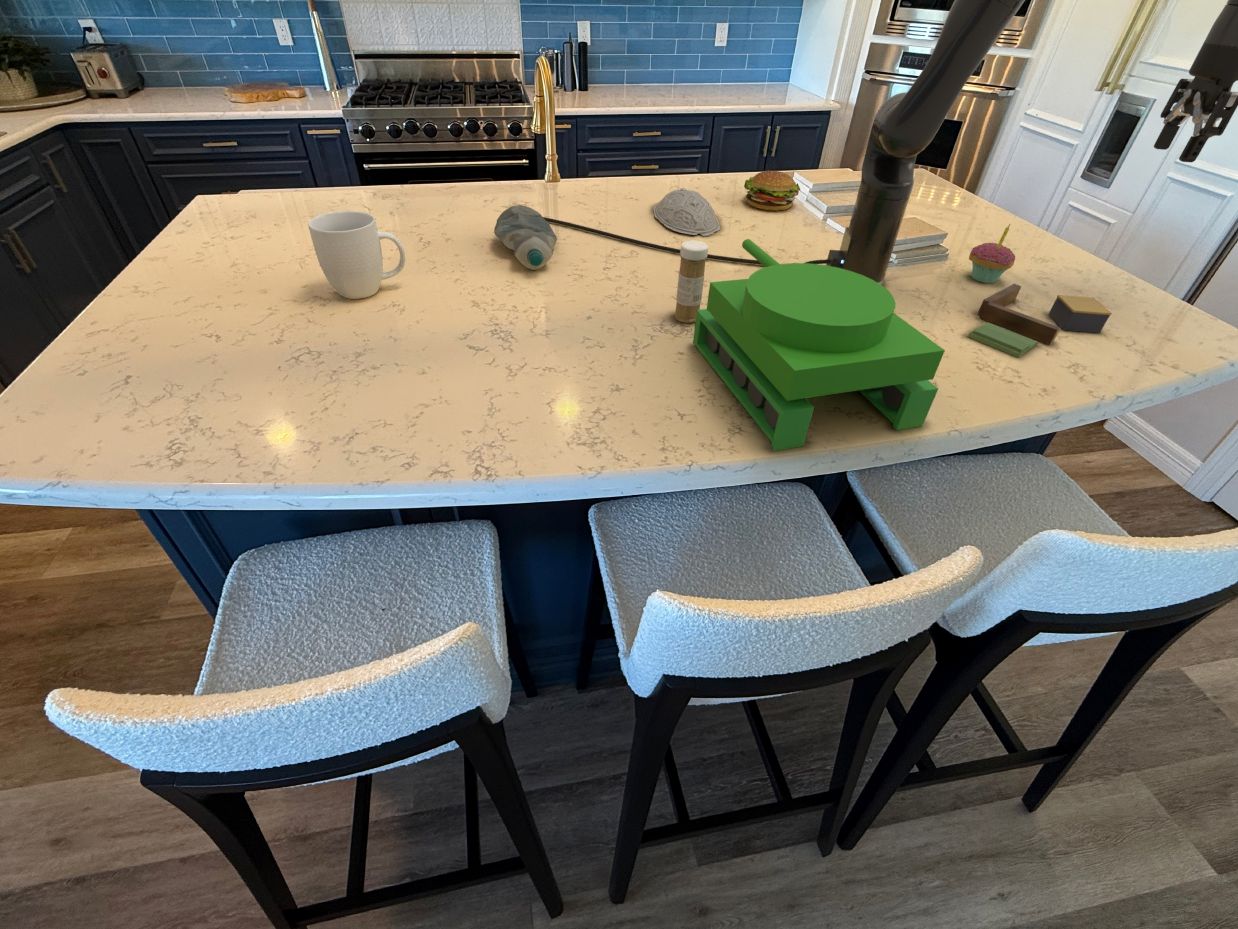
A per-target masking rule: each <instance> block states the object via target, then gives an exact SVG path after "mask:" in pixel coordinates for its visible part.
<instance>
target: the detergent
mask: <svg viewBox="0 0 1238 929" xmlns="http://www.w3.org/2000/svg"><path fill="white" fill-rule="evenodd" d="M543 217H544V216H542V214H541V213H540V212H538V211H537V210H535V209H533V208H531V207H529V206H526V205H522V204H517V205H515V204H514V205H512V206H510V207H508V208H507V209H505V210H503V211H502V212H501V213H500V215H499V216H498V217H497V219H496V222H495V226H494V229H493V230H494V231H493V232H494V236H495V237H497V238H498V239H499V241H501V242H502V244H503V245H504V246H505V247H506V248H507V249H509V250H512V251H513V254H514V256H515V258H516V259H517V260H518V261H519V263H520V264H522V265H523V266H524V267H525V268H527V269H529V270H531V271H537V270H540V269H542V268H543V267H544V266H546V264H547V263H548V262H549V261H550V260H551V259H552V255H553V249H554V247H555V245H556V243H557V240H558V237H557V234H556V233H555V232H554V230H553V229H552V226H551V224H550V222H547V221H546V220H545V219H544V218H543Z"/></svg>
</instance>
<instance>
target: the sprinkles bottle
mask: <svg viewBox="0 0 1238 929" xmlns="http://www.w3.org/2000/svg"><path fill="white" fill-rule="evenodd" d="M707 254H709V245H708V244H707V243H705V242H704V241H701V240H686V241H684V242H682V243H681V245H680V253H679V255H680V263H679V272H678V278H677V279H678V280H677V288H676V304H675V313H674V318H675V320H677V321H679V322H680V323H683V324H684V323H685V324H693V323H695V321H696V313H697V310H701V304H702V298H703V290H704V281H705V272H706V271H705V270H706V262H707V259H708V258H707Z"/></svg>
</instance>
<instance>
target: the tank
mask: <svg viewBox="0 0 1238 929" xmlns="http://www.w3.org/2000/svg"><path fill="white" fill-rule="evenodd" d="M741 247H742V249H743V250H745V252H747V253H748V254H749V255H750V256H752V258H754V260H758V261H759V262H760V263H761V264H762V265H761V266H764V267H762V268H760V269H757V270H755V271H754V272H753V273H752V274H750V275H749V277H748V278H741V279H732V280H720V281H719V280H717V281H710V282H709V288H708V296H707V303H706V308H702V309H701V308H700V310H697V313H696V321H695V322H694V331H693V338H692V343H693V346H695V347H696V348H697V350H698V351H699V352H700V353H701V355H702V357H704V358H705V360H706V361H707V362H708V364H709V365H710V366H711V368H712V369H713V370H714V371H715V372H716V374H717V375H718V377H719V378H720V380H722V381H723V383H724V384H725V385H726V386H727V388H728V389H729V390H730V392H731V393H732V394H733V395H734V397H735V398H736V399H737V401H738V402H739V403H740V405H741V406H742V407H743V408H744V409H745V411H746V412H747V413H748V415H749V416H750V417H751V418H752V420H753V421H754V422H755V423H756V425H757V426H758V427H759V428H760V430H761V431H762V432H763V433H764V435H765V436H766V437H767V438H768V440H769V442H771V444H770V445H771V446H770V447H771V449H772V450H773V451H774V452H777V451H783V450H789V449H795V448H800V447H804V444H805V441H806V439H807V435H808V430H809V428H810V423H811V419H812V417H813V413H814V410H815V407H814V406H813V404H812V403H811V402H810V401H809V400H808V399H809V398H814V397H815V398H816V397H822V396H823V397H824V396H829V395H835V394H843V393H849V392H857V391H858V392H859V393H860V394H861V395H862V396H863V397H864V398H865V399H867V400H868V402H870V404H872V405H873V406H874V407H875V408H876V409H877V410H878V411H879V412H880V413H881V414H882V415H883V416H884V417H886V418H887V420H889V421H890V422H891V424H892V428H893V429H894V430H895V431H901V430H906V429H907V430H908V429H913V428H919V427H923V426H924V424H925V422H926V419H927V416H928V415H929V412H930V409H931V407H932V405H933V403H934V400H935V398H936V395H937V394H938V391H939V387H938V386H937V385H935V384H933V383H932V382H931V381H932V380H934V378H935V375H936V373H937V371H938V369H939V366H940V364H941V361H942V359H943V356H944V354H945V352H946V350H945V349H944V348H942V347H941V346H940V345H938V344H937V343H935V342H934V341H933V340H932V339H930V338H929V337H927V336H926V335H925V334H923V333H922V332H921V331H919V330H918V329H917V328H915V327H914V326H913V325H911V324H910V323H908V322H907V321H906V320H904V319H903V318H901V317H900V316H899V315H897V314H896V313H895V309H896V304H897V302H896V300H895V297H894V295H893V294H892V293H891V292H890V291H889V290H888V289H887V288H886V287H885V286H883V284H882V285H881V284H879V283H877V282H876V281H874V280H872V279H870V278H868V277H865V276H863V275H861V274H858V273H855V272H852V271H849V270H845V269H841V268H837V267H832V266H827V265H826V264H809V263H805V262H790V263H789V262H788V263H780V262H779V261H777V260H776V259H774V258H773V257H772V256H771V255H770V254H769V253H767V252H766V251H765V250H764V249H762V248H761V247H760V246H758V245H757V243H755V242H754V241H752V240H751V239H749V238H746V239H744V240H743V241H742V244H741ZM930 380H931V381H930Z"/></svg>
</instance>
